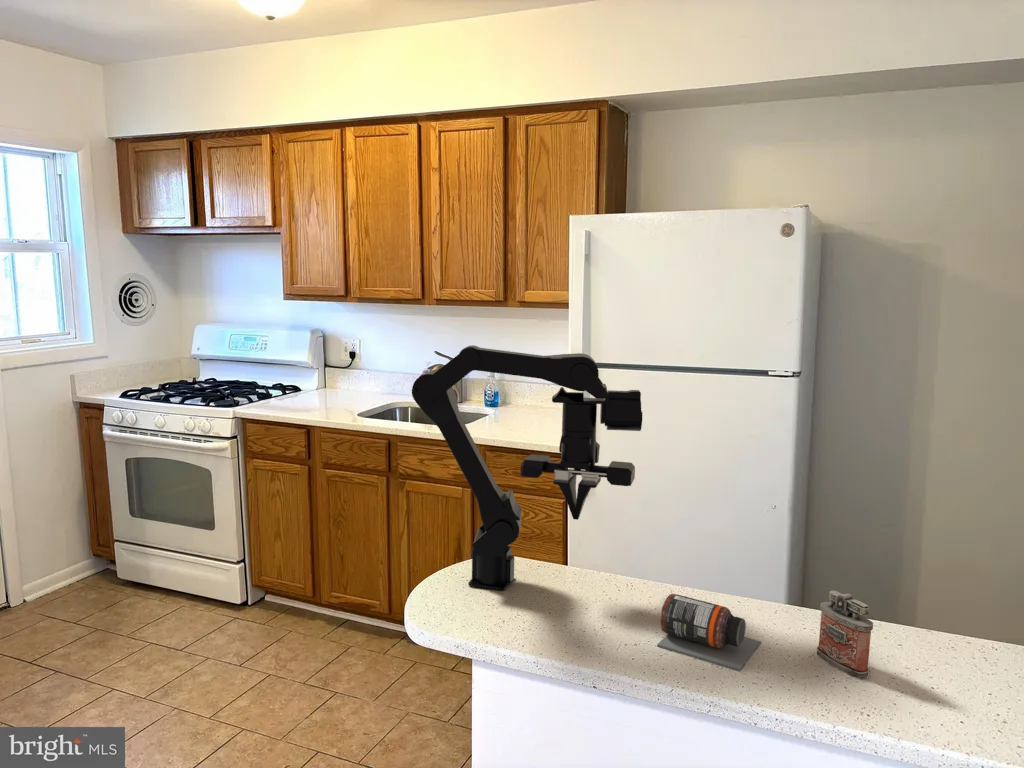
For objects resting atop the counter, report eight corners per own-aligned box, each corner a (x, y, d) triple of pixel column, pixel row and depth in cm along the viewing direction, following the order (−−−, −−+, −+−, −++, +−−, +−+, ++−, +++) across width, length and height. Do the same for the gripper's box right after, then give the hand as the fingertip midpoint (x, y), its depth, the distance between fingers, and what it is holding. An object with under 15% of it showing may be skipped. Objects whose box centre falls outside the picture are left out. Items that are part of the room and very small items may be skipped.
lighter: (810, 653, 108) (815, 586, 107) (828, 649, 110) (833, 583, 108) (856, 680, 101) (862, 609, 100) (874, 676, 102) (881, 605, 101)
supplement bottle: (676, 608, 117) (749, 628, 111) (662, 640, 113) (737, 663, 107) (670, 584, 113) (746, 603, 107) (656, 616, 110) (733, 638, 103)
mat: (657, 646, 109) (657, 644, 109) (682, 621, 118) (682, 619, 118) (739, 671, 103) (739, 669, 103) (760, 643, 111) (760, 641, 111)
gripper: (640, 424, 132) (636, 511, 134) (536, 417, 137) (534, 500, 139) (632, 436, 121) (628, 530, 124) (520, 428, 127) (518, 518, 129)
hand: (576, 518), depth 129 cm, fingers closed
